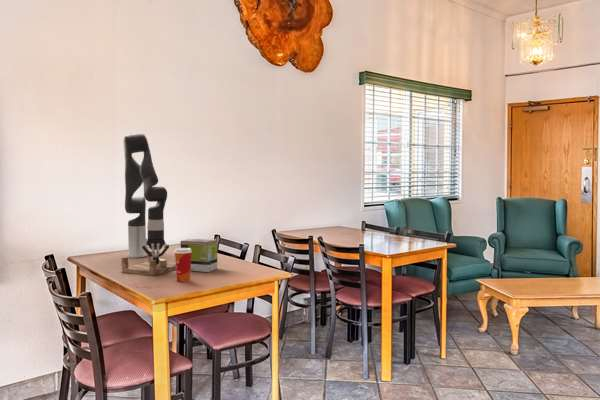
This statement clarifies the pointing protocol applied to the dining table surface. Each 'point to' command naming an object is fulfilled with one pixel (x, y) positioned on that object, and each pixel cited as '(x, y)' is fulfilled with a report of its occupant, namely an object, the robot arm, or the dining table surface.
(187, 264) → the paper cup
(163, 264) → the tan curved wooden piece
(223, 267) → the dining table surface
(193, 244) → the tea box
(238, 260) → the dining table surface
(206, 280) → the dining table surface
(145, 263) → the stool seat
